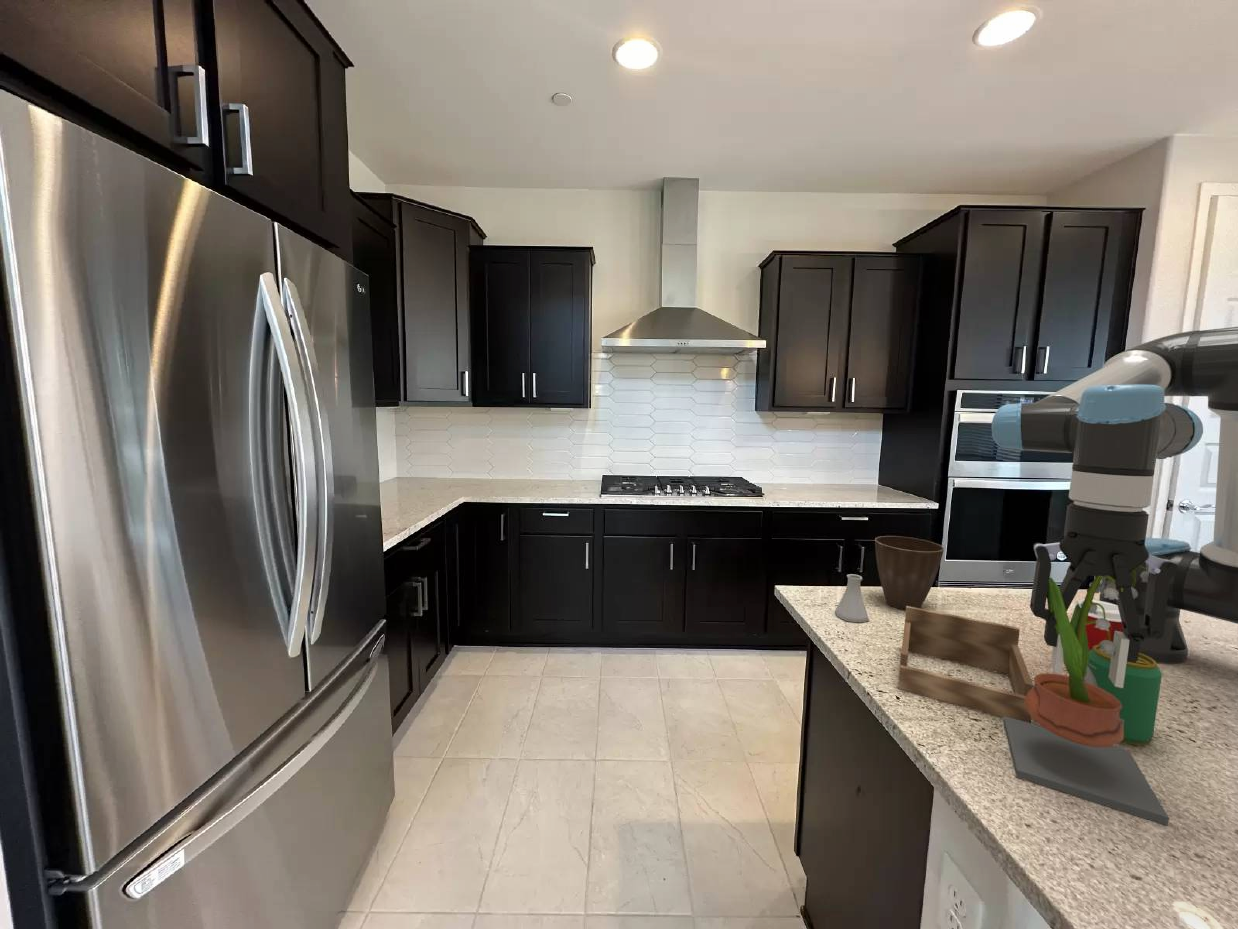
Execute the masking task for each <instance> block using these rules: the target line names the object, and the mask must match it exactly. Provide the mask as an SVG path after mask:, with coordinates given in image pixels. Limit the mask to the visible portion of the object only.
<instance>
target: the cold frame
mask: <svg viewBox="0 0 1238 929" xmlns="http://www.w3.org/2000/svg"><path fill="white" fill-rule="evenodd" d="M903 627H904V628H903V634H902V635H903V636H902V643H901V650H900V660H899V663H900V664H899V670H898V671H899V672H898V685H897V689H899V690H902V691H906V692H910V693H914V694H917V695H919V696H920V695H921V696H925V697H927V698H931V699H936V700H939V701H943V702H946V703H949V704H953V705H957V706H960V707H965V708H967V709H968V708H969V709H971V710H976V711H978V712H979V711H980V712H982V713H986V714H989V715H993V716H997V717H1001V718H1004V716H1006V717H1010V718H1013V719H1017V720H1021V721H1024V722H1028V723H1032V717H1031V716H1030V714H1029V712H1028V711H1027V709H1026V707H1025V705H1024V701H1025V698H1026V695H1027V693H1028V692H1029V691H1030V690H1031V689H1032V688H1033V687H1034V682H1033V681H1032V678H1031V676H1030V672H1029V671H1028V667H1027V665H1026V662H1025V659H1024V657H1023V654H1022V652H1021V649H1020V647H1019V640H1020V639H1019V638H1020V632H1021V631H1020V630H1021V629H1020V627H1018V626H1012V625H1007V624H1002V623H997V622H992V621H986V620H982V619H975V618H971V617H966V616H961V615H957V614H956V615H955V614H950V613H945V612H940V611H935V610H931V609H930V610H929V609H924V608H921V607H920V608H915V607H910V606H906V610H905V616H904V626H903ZM909 652H910V653H914V654H919V655H923V656H928V657H932V658H936V659H940V660H943V661H944V660H945V661H949V662H953V663H957V664H960V665H966V666H969V667H975V668H977V667H979V668H978V669H982V668H983V669H982V670H988V671H991V672H994V671H996V672H995V673H999V674H1003V675H1007V674H1008V675H1007V677H1008V679H1009V683H1010V686H1011V690H1012V692H1011V691H1008V690H1004V689H999V688H995V687H992V686H988V685H984V684H980V683H975V682H971V681H968V680H963V679H961V678H957V677H952V676H948V675H944V674H940V673H935V672H931V671H929V670H928V671H927V670H924V669H920V668H915V667H913V666H909V665H908V658H909Z"/></svg>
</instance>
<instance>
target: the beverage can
mask: <svg viewBox="0 0 1238 929" xmlns="http://www.w3.org/2000/svg"><path fill="white" fill-rule="evenodd" d="M1099 648H1100V645H1095V646H1094V647H1093V649H1092V650H1090V651H1089V655H1090V657H1089V661H1088V666H1087V670H1086V675H1085V677H1084V680H1083V681H1085V682H1087V683H1090V684H1092V685H1095V686H1097V687H1099V688H1101V689H1103V690H1105V691H1107V692H1109V693H1110V694H1112V695H1113V696H1114V697H1116V698H1117V699H1118V700H1119V701H1120V703H1121V704H1122V709H1121V710H1120V711H1119V717H1120V719H1121V722H1122V724H1123V726H1124V739H1123V741H1121V742H1120V743H1125V744H1129V745H1136V746H1139V745H1140V746H1141V745H1145V743H1146V744H1147V743H1148V741H1149V740H1151V739H1152V738H1153V737H1154V731H1155V724H1156V718H1157V717H1156V716H1157V712H1158V704H1159V696H1160V689H1161V683H1162V677H1163V674H1162V671H1161V670H1160V668H1159V667H1158V662H1156V661H1155V660H1153V659H1152V658H1150V657H1148V656H1146V655H1144V654H1141V653H1139V655H1138V660H1137V662H1136V663H1131V662H1127V663H1126V670H1125V678H1124V685H1123V688H1120V687H1115V686H1114V684H1113V683H1112V681H1111V680H1110V678H1109V670H1110V663H1111V655H1112V654H1111V653H1110V654H1107V653H1104V650H1103V651H1099V650H1098V649H1099Z"/></svg>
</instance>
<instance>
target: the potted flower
mask: <svg viewBox="0 0 1238 929" xmlns="http://www.w3.org/2000/svg"><path fill="white" fill-rule="evenodd" d="M1138 567H1141V568H1143V569H1145V568H1144V567H1142V566H1138ZM1145 570H1146V569H1145ZM1132 575H1133V583H1132V587H1131V590H1132V594H1133V598H1134V599H1135V598H1136V597H1137V596H1138V592H1137V591H1136V590H1135V589H1134V588H1133V587H1134V586H1135V582H1136V571H1135V569H1134V570H1133V571H1132ZM1148 575H1149V571H1147V570H1146V571H1144V572H1142V573H1141V575H1140V577H1141V578H1142V581H1141V582H1146V581H1147V582H1148ZM1102 578H1103V576H1094V579H1093V580H1092V582H1090V583H1089V585H1088V586H1089V588H1087V589H1086V595H1085V598H1084V599H1085V600H1084V601H1083V602H1082V603H1081V607H1080V606H1079V604H1077V605H1076V606H1075V609H1074V610H1073V612H1072V615H1071V618H1070V619H1069V615H1068V611H1067V612H1066V608H1065V605H1064V602H1063V598H1062V595H1061V592H1060V589H1059V587H1060V586H1058V584H1057V582H1056V581H1055V580H1054V579H1053V578H1052V577H1050V579H1049V580H1048V581H1049V586H1048V593H1047V599H1046V604H1047V609H1048V611H1049V612H1050V613H1052V612H1053V611H1054V614H1055V619H1056V621H1057V625H1055V628H1056V631H1057V635H1059V634H1060V639H1061V644H1062V647H1063V658H1064V662H1063V665H1064V666H1065V669H1066V671H1067V673H1068V675H1069V676H1068V675H1064V674H1058V673H1052V672H1051V673H1048V672H1045V673H1038V674H1035V676H1033V677H1034V678H1033V679H1034V680H1033V681H1034V684H1033V688H1032V689H1031V690H1030V691H1029V692H1028V693H1027V695H1026V698H1025V701H1024V705H1025V707H1026V709H1027V711H1028V712H1029V714H1030V716H1031V719H1032V720H1034V721H1035V722H1036V723H1037V725H1039V726H1043V727H1044V728H1045V729H1047V730H1049V731H1050V732H1052V733H1054V734H1056V735H1058V736H1060V737H1062V738H1064V739H1067V740H1069V741H1072V742H1075V743H1078V744H1082V745H1087V746H1093V747H1111V746H1116V745H1117V744H1119V743H1122V742H1121V741H1123V739H1124V726H1123V724H1122V722H1121V719H1120V717H1119V711H1120V710H1121V709H1122V704H1121V703H1120V701H1119V700H1118V699H1117V698H1116V697H1114V696H1113V695H1112V694H1110V693H1109V692H1107V691H1105V690H1103V689H1101V688H1099V687H1097V686H1095V685H1092V684H1090V683H1087V682H1085V681H1083V678H1084V677H1085V675H1086V670H1087V666H1088V661H1089V657H1090V655H1089V647H1088V640H1087V633H1086V627H1085V626H1086V625H1088V624H1092V623H1096V625H1095V626H1094V627H1096V628H1099V629H1101V630H1106V631H1107V633H1108V636H1109V640H1103V641H1101V642H1100V644H1099V645H1100V648H1099V649H1098V650H1099V651H1103V650H1104V653H1107V654H1110V653H1111V654H1112V655H1115V654H1114V652H1115V650H1116V645H1115V644H1114V643H1113V642H1112V641H1111V639H1110V633H1109V630H1108V628H1109V627H1110V622H1109V621H1108V620H1106V619H1105V610H1104V607H1103V606H1102V605H1100V604H1099V603H1094V602H1092V600H1094V596H1095V594H1100V592H1101V593H1104V594H1105V596H1104V598H1109V599H1112V600H1114V598H1115V599H1119V598H1118V594H1119V593H1118V591H1117V589H1116V585H1115V582H1116V579H1114V578H1112V577H1111V576H1109V575H1105V576H1104V578H1108V579H1109V580H1108V581H1107V585H1106V587H1105V588H1106V589H1105V590H1104V592H1103V588H1104V587H1103V585H1102V584H1101V581H1102ZM1114 581H1115V582H1114ZM1121 592H1123V588H1121ZM1134 602H1135V601H1134ZM1097 605H1099V606H1100V607H1101V608H1102V610H1103V615H1104V618H1099V619H1097V620H1096V621H1087V617H1088V613H1089V612H1090V613H1094V614H1098V613H1096V610H1097Z"/></svg>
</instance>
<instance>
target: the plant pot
mask: <svg viewBox="0 0 1238 929" xmlns="http://www.w3.org/2000/svg"><path fill="white" fill-rule="evenodd" d="M874 546H875V557H876V564H877V571H878V576H879V577H878V578H879V581H880V585H881V589H882V592H883V596H884V598H885V602H886V603H887V604H888V605H889V606H891V607H894V608H897V609H900V610H905V609H906V606H910V607H915V608H920V609H921V607H922V605H923V603H924V602H925V600H926V599H927V597H928V594H929V593H930V590H931V589H932V586H933V584H934V583H935V579H936V576H937V575H938V574H937V573H938V571H939V569H940V565H941V561H942V559H943V558H942V557H943V555H944V551H945V547H944V546H943V545H941V544H939V543H935V542H933V541H931V540H930V541H929V540H926V539H919V538H915V537H908V536H898V535H885V536H884V535H883V536H881V535H880V536H877V537H875V539H874Z"/></svg>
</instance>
